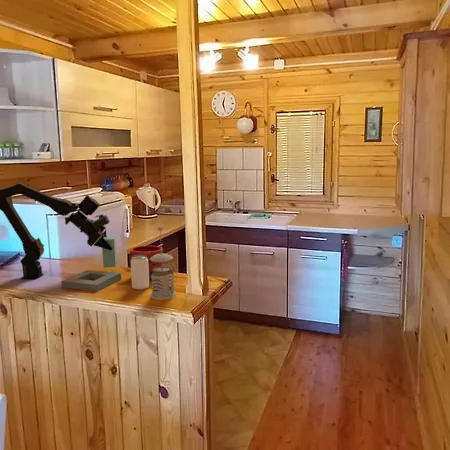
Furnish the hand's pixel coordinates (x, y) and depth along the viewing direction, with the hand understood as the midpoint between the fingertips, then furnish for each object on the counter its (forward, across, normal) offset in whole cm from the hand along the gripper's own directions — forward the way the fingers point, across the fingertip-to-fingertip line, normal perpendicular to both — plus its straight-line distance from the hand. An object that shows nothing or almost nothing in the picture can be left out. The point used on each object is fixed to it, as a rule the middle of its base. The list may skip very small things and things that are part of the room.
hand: (112, 248), depth 187 cm
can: (+16, -23, -1) cm, 28 cm away
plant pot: (+18, -9, -3) cm, 20 cm away
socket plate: (+2, -14, +12) cm, 19 cm away
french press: (+22, -35, -7) cm, 42 cm away
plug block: (+4, 0, +6) cm, 8 cm away
